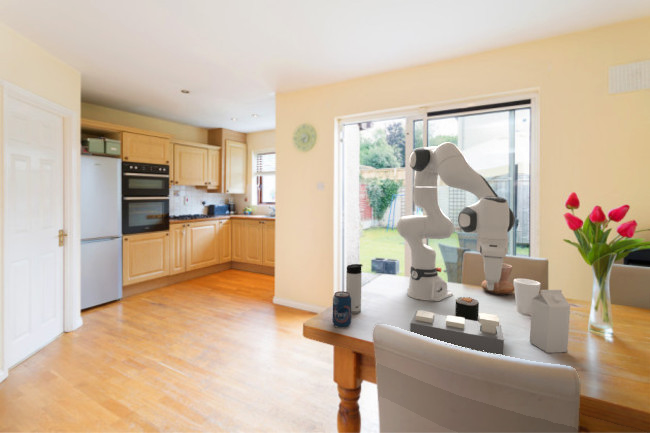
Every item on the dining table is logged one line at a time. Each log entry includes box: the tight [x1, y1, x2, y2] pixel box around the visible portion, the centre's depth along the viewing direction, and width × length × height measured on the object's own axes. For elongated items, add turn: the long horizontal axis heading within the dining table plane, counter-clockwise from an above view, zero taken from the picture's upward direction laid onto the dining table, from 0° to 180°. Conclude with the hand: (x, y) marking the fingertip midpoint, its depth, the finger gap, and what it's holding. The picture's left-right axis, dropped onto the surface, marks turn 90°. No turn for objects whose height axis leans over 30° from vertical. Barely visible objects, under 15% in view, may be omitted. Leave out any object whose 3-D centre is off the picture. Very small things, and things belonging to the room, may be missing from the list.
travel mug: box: [345, 263, 363, 315], centre depth 129 cm, size 6×7×20 cm
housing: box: [409, 310, 505, 356], centre depth 105 cm, size 28×12×5 cm, turn 64°
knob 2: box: [478, 312, 500, 334], centre depth 101 cm, size 6×6×5 cm
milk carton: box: [529, 289, 571, 354], centre depth 99 cm, size 7×7×19 cm
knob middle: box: [446, 314, 465, 329], centre depth 105 cm, size 6×6×5 cm
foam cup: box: [513, 278, 541, 316], centre depth 129 cm, size 10×9×13 cm
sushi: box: [454, 296, 480, 321], centre depth 122 cm, size 8×8×8 cm
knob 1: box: [416, 309, 435, 323], centre depth 109 cm, size 6×6×5 cm
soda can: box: [332, 290, 352, 329], centre depth 115 cm, size 7×7×12 cm
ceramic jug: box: [481, 262, 515, 296], centre depth 155 cm, size 18×14×14 cm
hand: (490, 289), depth 100 cm, fingers closed
